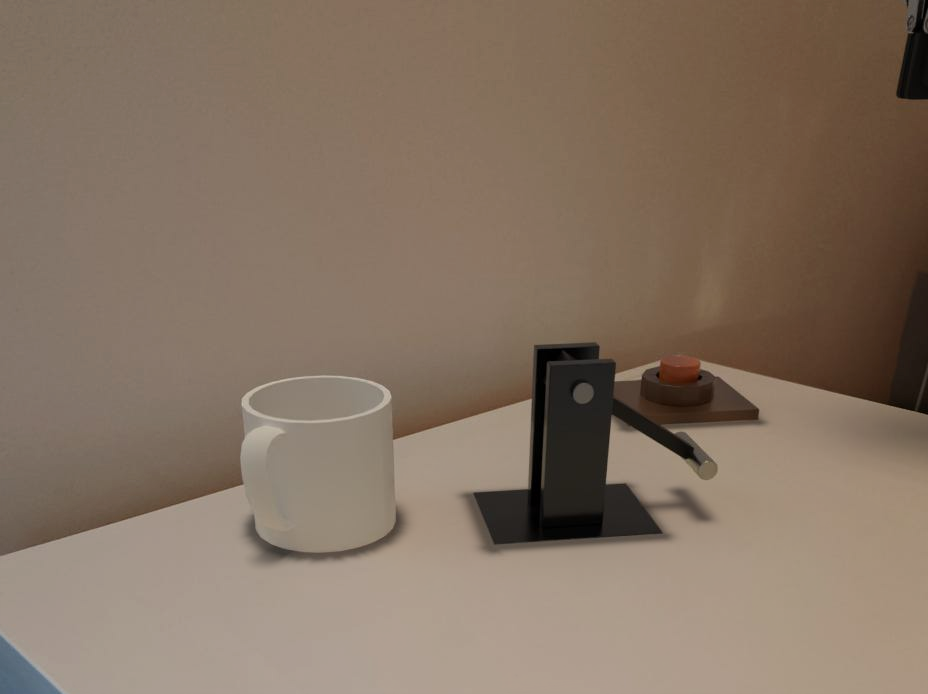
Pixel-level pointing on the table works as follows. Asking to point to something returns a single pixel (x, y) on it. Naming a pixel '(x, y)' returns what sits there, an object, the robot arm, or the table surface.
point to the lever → (661, 435)
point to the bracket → (567, 458)
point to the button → (679, 369)
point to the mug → (319, 462)
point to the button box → (685, 399)
